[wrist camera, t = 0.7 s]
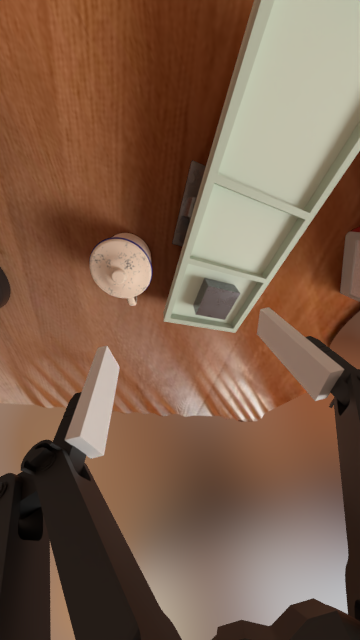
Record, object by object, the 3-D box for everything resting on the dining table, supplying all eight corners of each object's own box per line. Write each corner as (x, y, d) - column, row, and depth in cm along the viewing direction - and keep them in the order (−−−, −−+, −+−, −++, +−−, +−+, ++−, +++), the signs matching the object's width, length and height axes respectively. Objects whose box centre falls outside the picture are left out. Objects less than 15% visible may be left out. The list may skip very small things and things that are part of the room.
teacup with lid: (97, 232, 29) (69, 243, 20) (149, 229, 30) (146, 238, 21) (114, 295, 36) (100, 325, 26) (157, 291, 37) (158, 319, 27)
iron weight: (193, 305, 33) (195, 314, 30) (204, 277, 29) (208, 286, 27) (220, 310, 34) (224, 319, 32) (234, 284, 31) (240, 293, 28)
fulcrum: (172, 243, 32) (175, 249, 26) (191, 161, 26) (201, 148, 20) (251, 265, 36) (269, 275, 31) (283, 200, 30) (312, 198, 25)
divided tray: (163, 312, 35) (163, 321, 33) (282, -98, 12) (308, -157, 10) (231, 324, 39) (235, 332, 37) (415, 34, 16) (454, 12, 14)
